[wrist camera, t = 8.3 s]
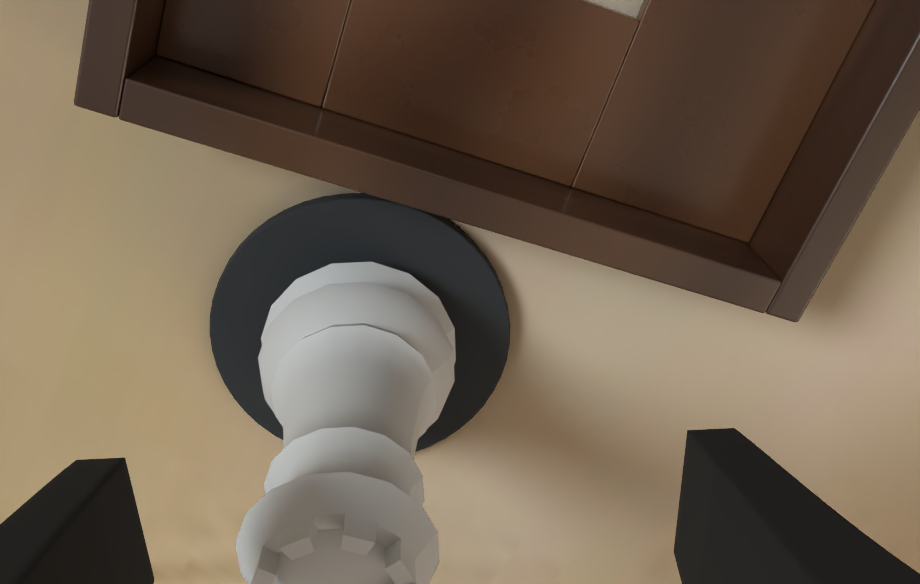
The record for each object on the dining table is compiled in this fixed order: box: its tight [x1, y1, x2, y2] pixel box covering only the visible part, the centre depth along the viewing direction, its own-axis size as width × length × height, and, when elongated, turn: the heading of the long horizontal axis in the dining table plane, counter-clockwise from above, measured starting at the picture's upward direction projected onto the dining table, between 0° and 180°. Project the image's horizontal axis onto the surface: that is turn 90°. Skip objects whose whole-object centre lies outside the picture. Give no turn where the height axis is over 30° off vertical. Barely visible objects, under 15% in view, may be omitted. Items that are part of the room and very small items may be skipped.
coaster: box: [210, 193, 510, 452], centre depth 20 cm, size 7×7×1 cm
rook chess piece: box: [235, 262, 456, 584], centre depth 17 cm, size 4×4×8 cm
